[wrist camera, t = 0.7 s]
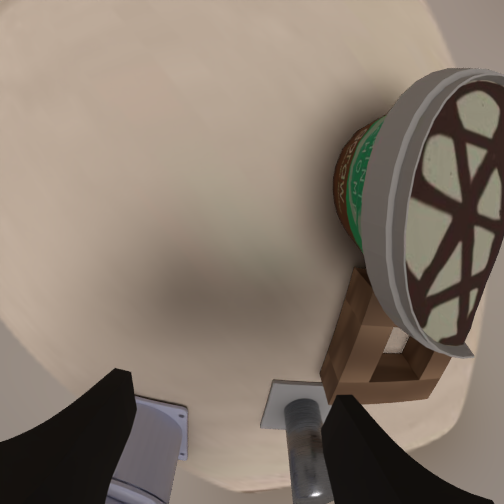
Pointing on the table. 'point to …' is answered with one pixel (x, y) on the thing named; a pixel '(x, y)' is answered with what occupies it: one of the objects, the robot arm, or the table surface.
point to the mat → (287, 393)
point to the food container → (429, 202)
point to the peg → (306, 453)
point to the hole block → (375, 354)
